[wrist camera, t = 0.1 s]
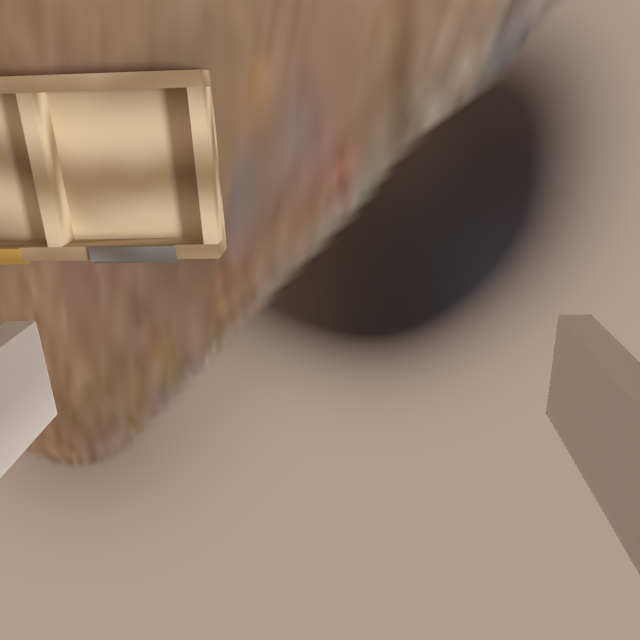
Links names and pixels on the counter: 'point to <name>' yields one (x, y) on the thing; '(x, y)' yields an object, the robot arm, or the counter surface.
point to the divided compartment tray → (109, 168)
